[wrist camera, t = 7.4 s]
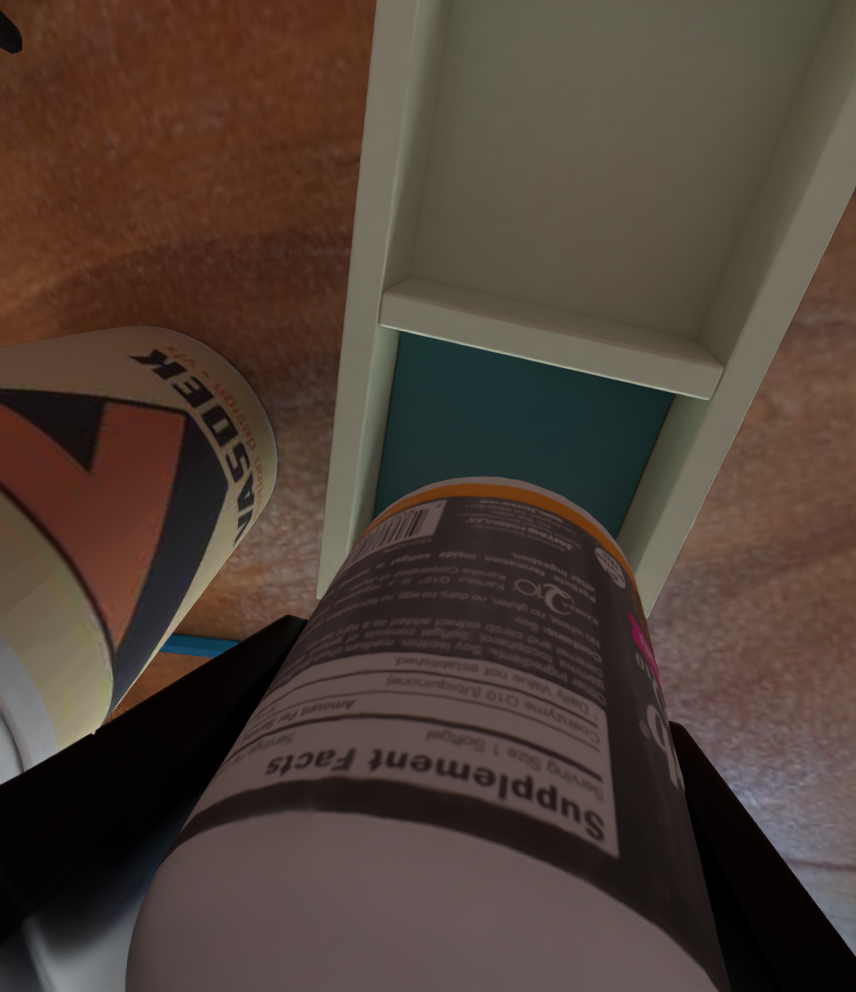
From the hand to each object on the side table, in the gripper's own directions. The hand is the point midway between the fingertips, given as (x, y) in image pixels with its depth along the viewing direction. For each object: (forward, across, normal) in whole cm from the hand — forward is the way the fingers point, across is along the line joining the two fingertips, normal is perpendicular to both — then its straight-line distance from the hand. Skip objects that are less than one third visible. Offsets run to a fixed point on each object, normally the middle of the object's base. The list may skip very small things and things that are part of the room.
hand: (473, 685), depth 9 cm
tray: (+9, 0, -4) cm, 10 cm away
